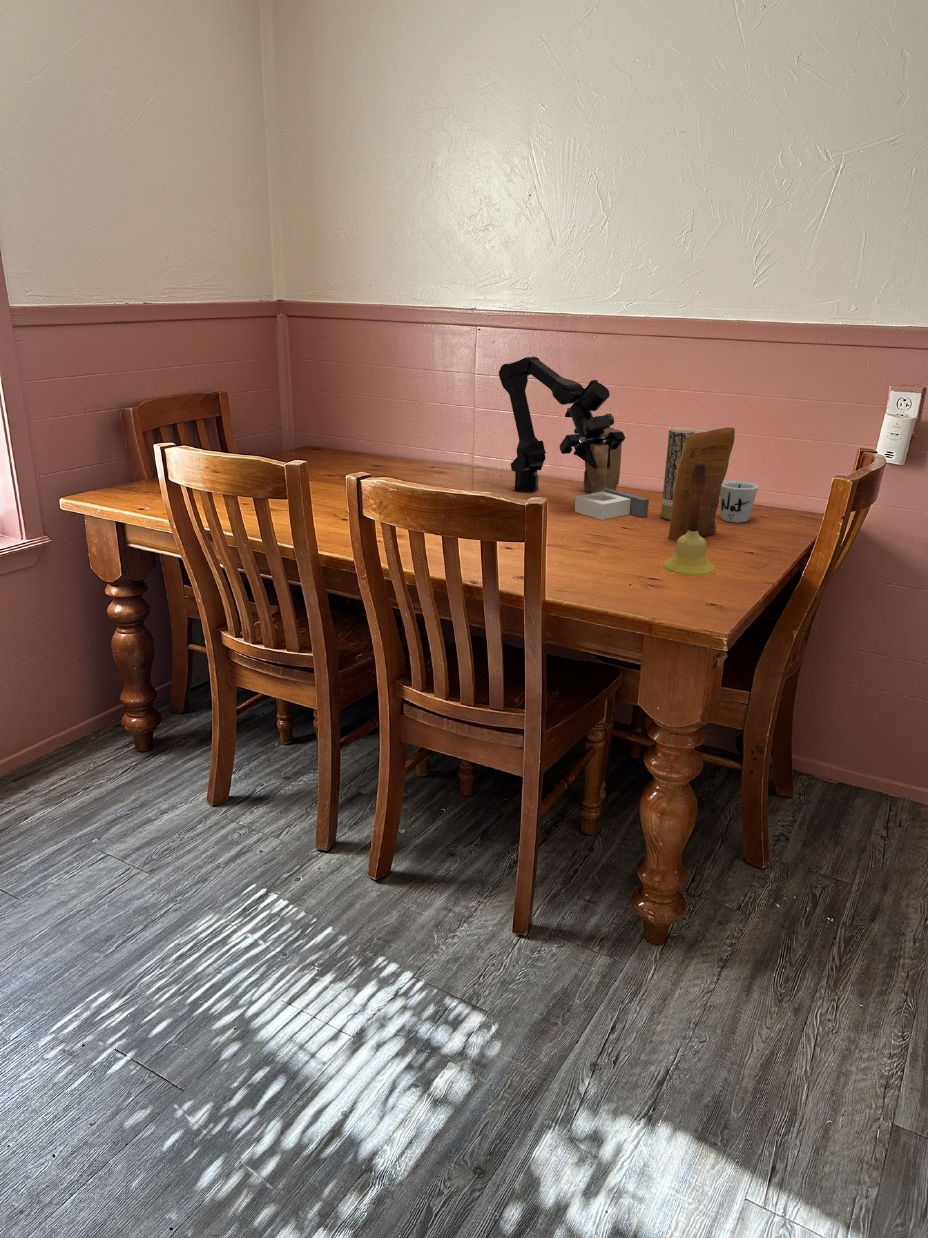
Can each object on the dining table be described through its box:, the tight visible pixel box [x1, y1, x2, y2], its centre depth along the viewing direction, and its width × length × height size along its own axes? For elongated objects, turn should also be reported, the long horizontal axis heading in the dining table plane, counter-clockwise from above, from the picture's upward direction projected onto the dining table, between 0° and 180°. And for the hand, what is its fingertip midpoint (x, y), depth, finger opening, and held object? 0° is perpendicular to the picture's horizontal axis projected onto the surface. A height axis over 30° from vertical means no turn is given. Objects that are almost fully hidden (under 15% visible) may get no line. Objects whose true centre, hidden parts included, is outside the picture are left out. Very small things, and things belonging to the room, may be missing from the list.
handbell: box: [661, 462, 716, 577], centre depth 202 cm, size 12×12×25 cm
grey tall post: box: [660, 426, 696, 521], centre depth 243 cm, size 7×7×25 cm
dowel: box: [591, 444, 608, 491], centre depth 246 cm, size 4×4×12 cm
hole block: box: [574, 491, 631, 521], centre depth 251 cm, size 11×11×4 cm
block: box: [583, 426, 623, 494], centre depth 271 cm, size 11×8×20 cm
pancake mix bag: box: [667, 427, 736, 540], centre depth 227 cm, size 7×19×28 cm, turn 118°
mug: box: [719, 480, 759, 524], centre depth 248 cm, size 10×15×10 cm
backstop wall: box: [593, 488, 650, 518], centre depth 255 cm, size 20×2×5 cm, turn 37°
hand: (602, 467), depth 245 cm, fingers closed on dowel, 4 cm apart
